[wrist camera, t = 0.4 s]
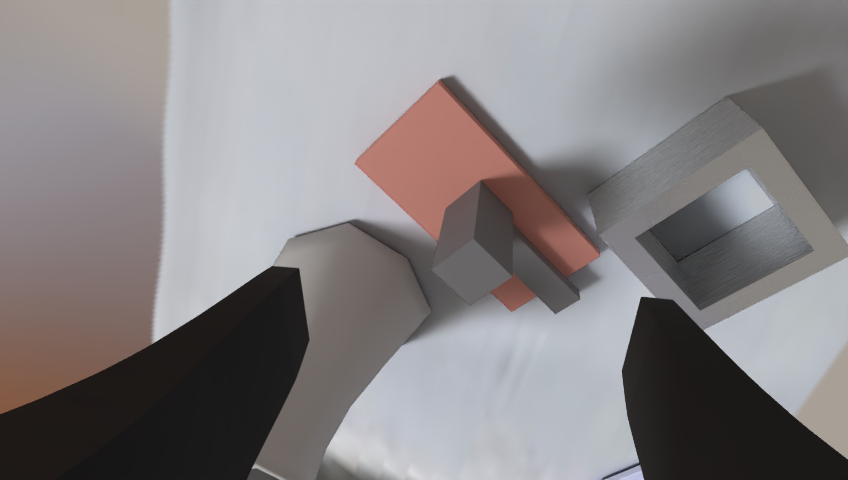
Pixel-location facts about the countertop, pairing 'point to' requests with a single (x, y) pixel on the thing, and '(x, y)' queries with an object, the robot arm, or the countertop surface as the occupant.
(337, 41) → the countertop surface
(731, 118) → the link
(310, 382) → the flask
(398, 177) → the keeper hook
